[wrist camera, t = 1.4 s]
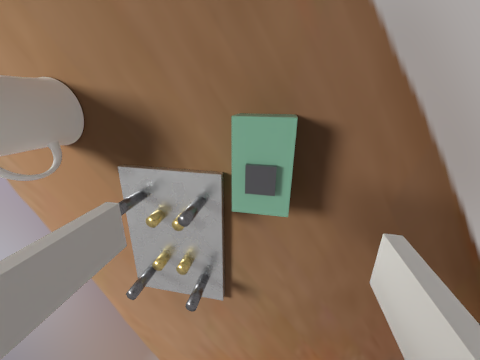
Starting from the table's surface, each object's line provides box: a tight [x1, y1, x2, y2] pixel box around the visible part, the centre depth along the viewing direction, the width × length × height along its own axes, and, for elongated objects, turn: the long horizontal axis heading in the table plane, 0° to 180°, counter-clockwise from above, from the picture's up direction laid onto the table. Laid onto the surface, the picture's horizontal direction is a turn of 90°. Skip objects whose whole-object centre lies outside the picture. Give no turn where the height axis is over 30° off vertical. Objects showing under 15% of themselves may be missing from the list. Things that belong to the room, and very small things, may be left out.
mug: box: [0, 75, 84, 181], centre depth 24 cm, size 12×8×12 cm
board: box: [232, 113, 298, 217], centre depth 24 cm, size 10×6×5 cm, turn 179°
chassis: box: [118, 165, 225, 311], centre depth 29 cm, size 20×14×6 cm
